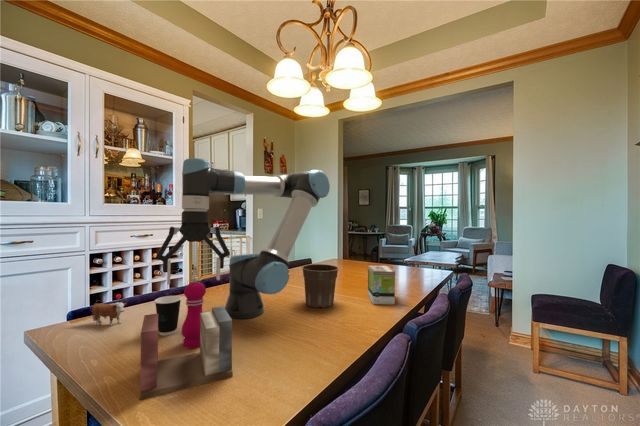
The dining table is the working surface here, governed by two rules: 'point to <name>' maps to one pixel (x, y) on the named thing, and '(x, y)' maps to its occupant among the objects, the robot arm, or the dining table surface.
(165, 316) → the dixie cup
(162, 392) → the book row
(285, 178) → the robot arm
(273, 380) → the dining table surface
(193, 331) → the pepper mill
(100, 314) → the bull figurine
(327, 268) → the plant pot
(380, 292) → the tea box
